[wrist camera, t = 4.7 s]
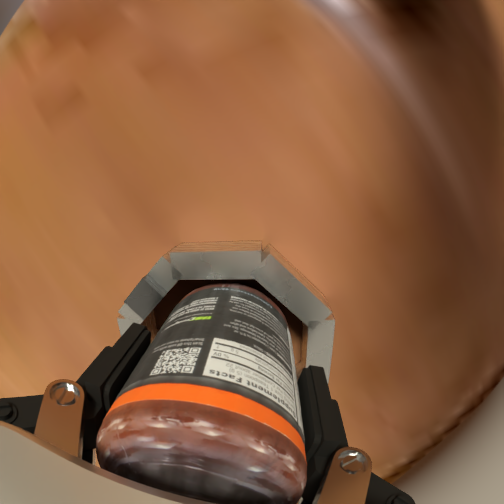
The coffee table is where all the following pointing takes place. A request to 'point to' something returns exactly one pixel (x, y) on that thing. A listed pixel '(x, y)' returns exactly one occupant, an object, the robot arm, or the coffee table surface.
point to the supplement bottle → (213, 404)
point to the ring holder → (238, 267)
